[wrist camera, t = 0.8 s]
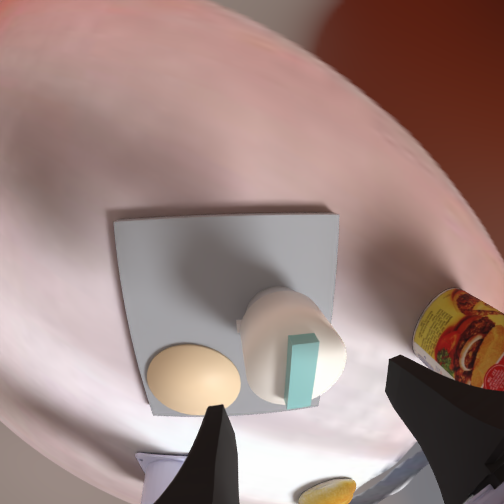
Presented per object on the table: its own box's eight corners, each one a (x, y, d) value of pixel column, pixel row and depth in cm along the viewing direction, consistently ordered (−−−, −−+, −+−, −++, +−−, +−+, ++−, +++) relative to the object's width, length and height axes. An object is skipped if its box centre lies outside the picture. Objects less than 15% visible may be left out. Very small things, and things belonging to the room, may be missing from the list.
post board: (315, 398, 22) (324, 421, 19) (154, 407, 21) (149, 431, 18) (333, 212, 18) (353, 219, 15) (118, 219, 17) (101, 227, 14)
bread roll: (356, 469, 28) (365, 490, 24) (347, 493, 30) (354, 511, 26) (297, 485, 27) (303, 508, 23) (296, 506, 29) (301, 525, 25)
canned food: (476, 305, 22) (554, 356, 11) (436, 367, 24) (501, 433, 12) (445, 273, 21) (547, 329, 9) (397, 347, 22) (477, 433, 10)
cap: (317, 357, 17) (343, 406, 13) (241, 365, 17) (248, 419, 12) (325, 287, 16) (360, 326, 12) (238, 293, 16) (246, 338, 11)
